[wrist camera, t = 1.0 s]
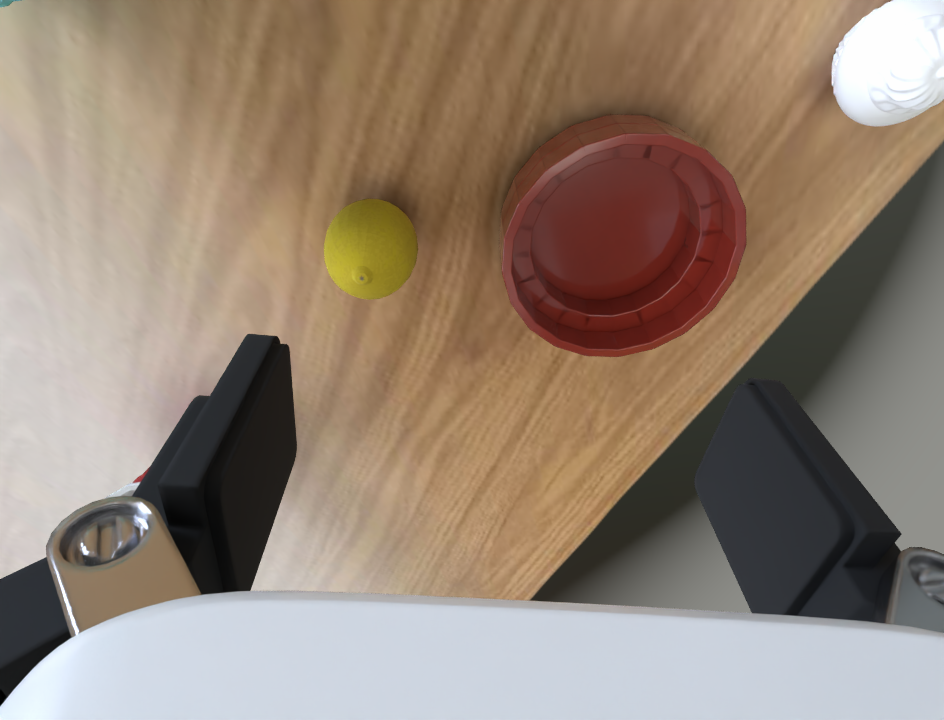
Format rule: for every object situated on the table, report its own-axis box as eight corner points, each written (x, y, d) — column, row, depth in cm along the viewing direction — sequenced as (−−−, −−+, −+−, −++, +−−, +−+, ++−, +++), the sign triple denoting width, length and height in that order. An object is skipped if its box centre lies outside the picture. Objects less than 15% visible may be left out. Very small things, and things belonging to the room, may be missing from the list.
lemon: (428, 257, 39) (419, 317, 32) (348, 264, 39) (324, 325, 33) (415, 177, 36) (402, 226, 29) (329, 186, 36) (297, 236, 30)
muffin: (947, 23, 31) (1055, 38, 25) (859, 130, 34) (936, 164, 28) (865, -36, 29) (960, -35, 24) (780, 81, 33) (846, 107, 27)
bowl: (607, 58, 32) (627, 72, 28) (761, 207, 37) (797, 238, 33) (456, 244, 38) (455, 278, 34) (604, 349, 43) (618, 390, 39)
